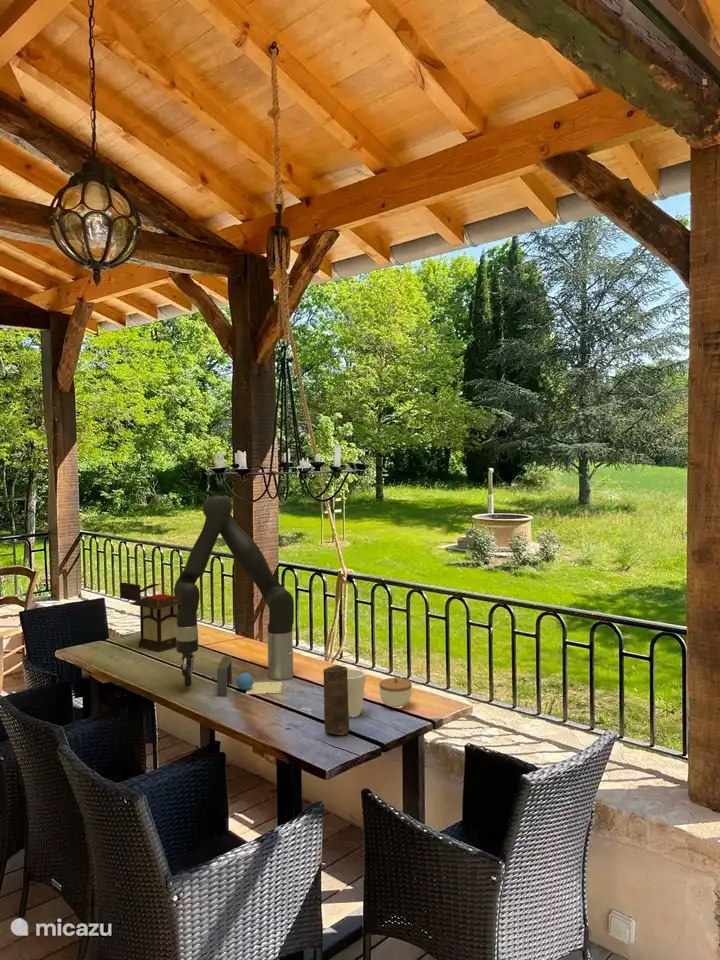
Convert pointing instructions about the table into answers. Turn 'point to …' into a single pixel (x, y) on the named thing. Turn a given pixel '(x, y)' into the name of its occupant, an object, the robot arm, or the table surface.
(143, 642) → the lantern
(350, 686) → the foam cup
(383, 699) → the lidded jar
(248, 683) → the ball
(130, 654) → the table surface
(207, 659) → the table surface
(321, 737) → the table surface
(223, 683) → the bridge
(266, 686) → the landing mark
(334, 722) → the candle
